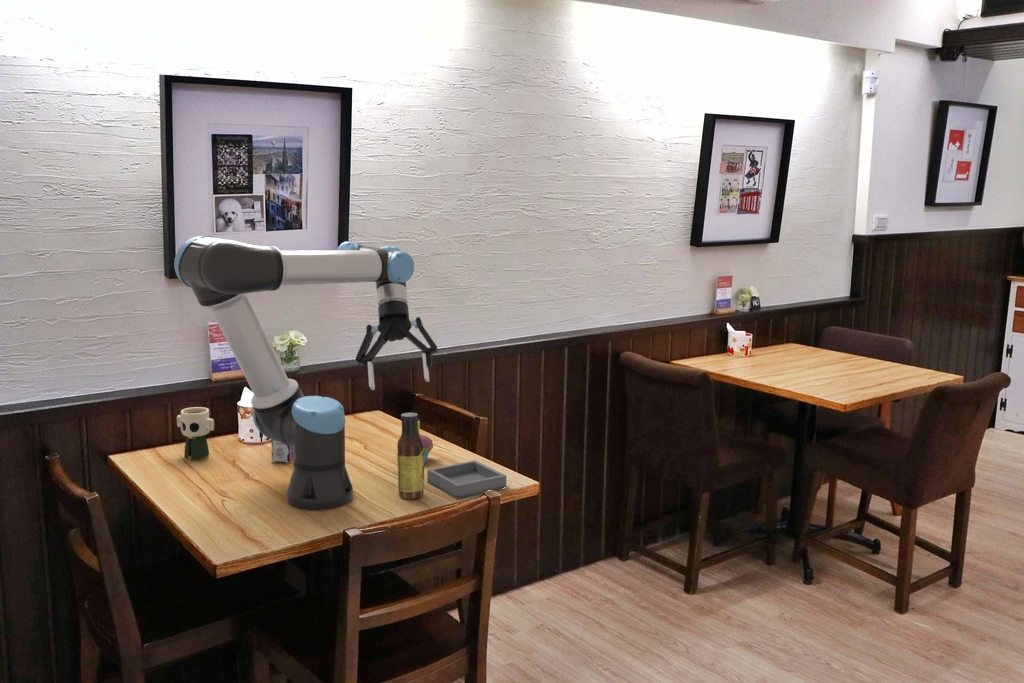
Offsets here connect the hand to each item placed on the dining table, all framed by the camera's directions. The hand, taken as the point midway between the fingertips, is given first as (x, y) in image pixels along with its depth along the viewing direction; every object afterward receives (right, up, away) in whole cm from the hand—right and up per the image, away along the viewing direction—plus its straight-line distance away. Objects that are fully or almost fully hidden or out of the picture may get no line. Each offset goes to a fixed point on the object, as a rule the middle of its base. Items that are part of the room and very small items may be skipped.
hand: (399, 384), depth 224 cm
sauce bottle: (+3, -26, -6) cm, 27 cm away
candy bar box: (-33, -20, +21) cm, 44 cm away
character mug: (-56, -20, +18) cm, 62 cm away
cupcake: (+2, -21, +20) cm, 29 cm away
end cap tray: (+16, -25, +2) cm, 30 cm away
